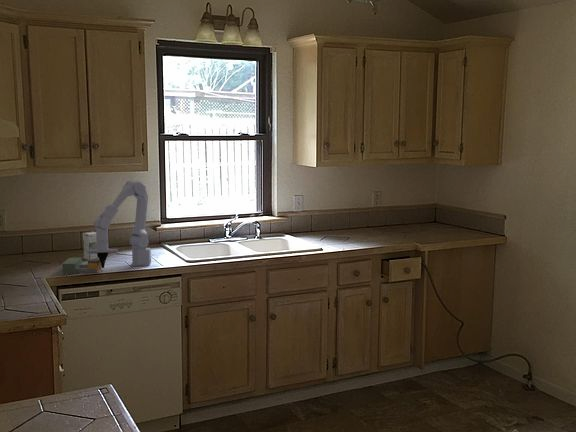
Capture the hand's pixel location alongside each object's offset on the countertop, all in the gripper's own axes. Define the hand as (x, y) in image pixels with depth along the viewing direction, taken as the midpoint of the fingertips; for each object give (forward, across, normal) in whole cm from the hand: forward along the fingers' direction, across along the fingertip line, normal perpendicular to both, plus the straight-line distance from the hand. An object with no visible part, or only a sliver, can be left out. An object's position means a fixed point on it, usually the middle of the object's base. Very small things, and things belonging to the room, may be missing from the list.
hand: (103, 267), depth 306 cm
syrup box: (+2, +8, -29) cm, 30 cm away
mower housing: (+1, +10, -2) cm, 10 cm away
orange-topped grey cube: (+1, +4, -2) cm, 5 cm away
